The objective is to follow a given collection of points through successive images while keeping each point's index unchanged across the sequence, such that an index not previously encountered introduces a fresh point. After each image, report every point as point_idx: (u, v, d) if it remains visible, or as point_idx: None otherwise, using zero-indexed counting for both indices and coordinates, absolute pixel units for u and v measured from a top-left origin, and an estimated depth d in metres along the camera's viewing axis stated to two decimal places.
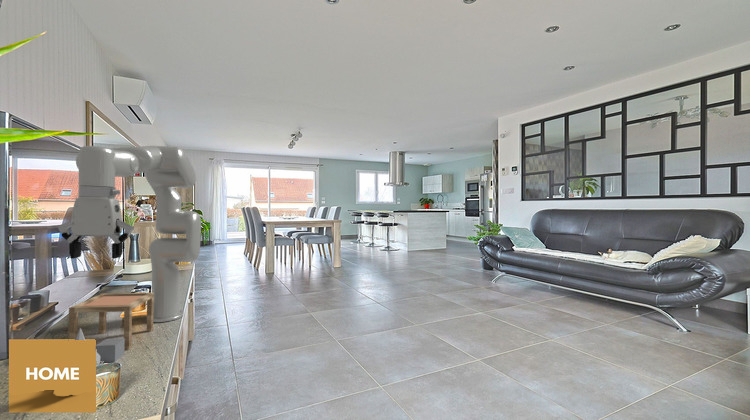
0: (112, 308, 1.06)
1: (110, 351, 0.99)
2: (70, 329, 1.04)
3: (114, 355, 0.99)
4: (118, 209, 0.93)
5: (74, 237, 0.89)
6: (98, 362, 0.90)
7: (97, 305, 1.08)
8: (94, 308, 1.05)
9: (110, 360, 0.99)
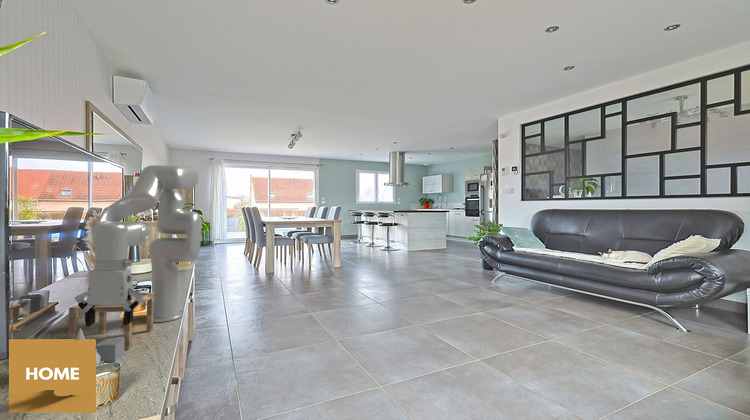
0: (112, 308, 1.06)
1: (110, 351, 0.99)
2: (70, 329, 1.04)
3: (114, 355, 0.99)
4: (130, 279, 1.02)
5: (89, 307, 0.98)
6: (98, 362, 0.90)
7: None
8: (94, 308, 1.05)
9: (110, 360, 0.99)
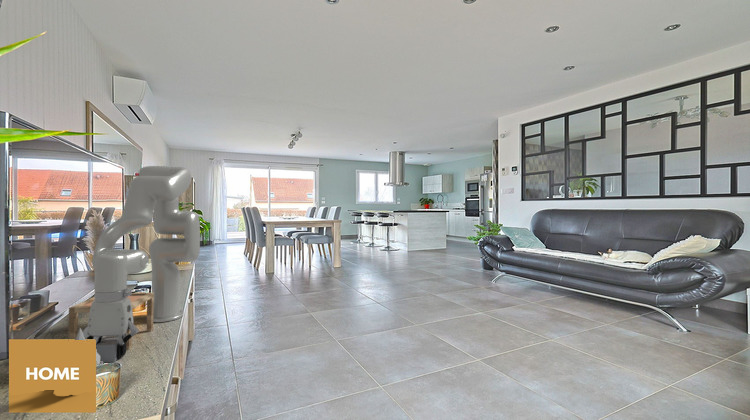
0: None
1: (110, 351, 0.99)
2: (70, 329, 1.04)
3: (114, 355, 0.99)
4: (130, 308, 1.02)
5: (96, 339, 0.99)
6: (98, 362, 0.90)
7: None
8: None
9: (110, 360, 0.99)
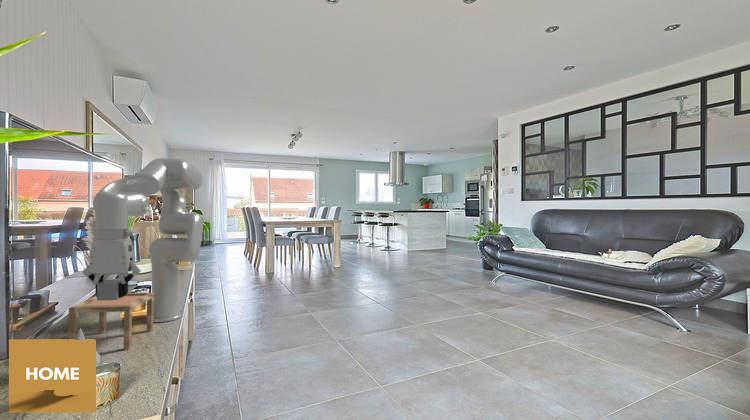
0: (112, 308, 1.06)
1: (112, 289, 0.99)
2: (70, 329, 1.04)
3: (116, 293, 0.99)
4: (131, 248, 1.02)
5: (98, 277, 0.99)
6: (98, 362, 0.90)
7: (97, 305, 1.08)
8: (94, 308, 1.05)
9: (112, 298, 0.99)
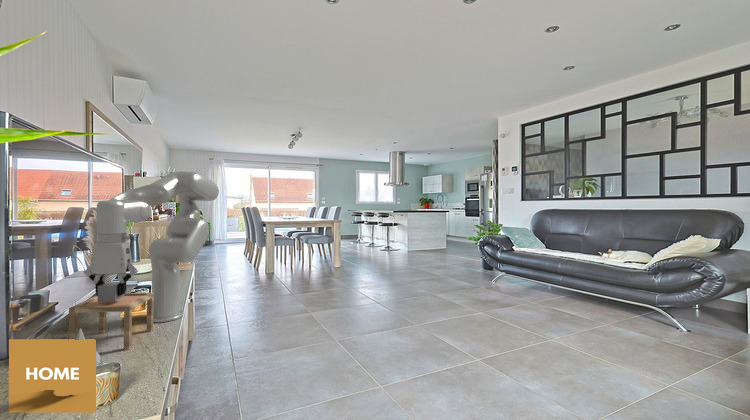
0: (112, 308, 1.06)
1: (111, 291, 1.09)
2: (70, 329, 1.04)
3: (114, 295, 1.09)
4: (129, 251, 1.12)
5: (98, 277, 1.09)
6: (98, 362, 0.90)
7: (97, 305, 1.08)
8: (94, 308, 1.05)
9: (111, 299, 1.09)
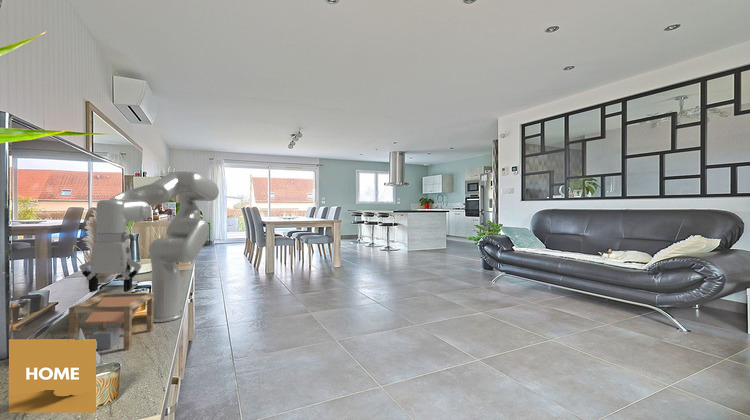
0: (112, 308, 1.06)
1: None
2: (70, 329, 1.04)
3: None
4: (128, 250, 1.12)
5: (92, 275, 1.09)
6: (98, 362, 0.90)
7: (99, 321, 1.09)
8: (94, 308, 1.05)
9: None
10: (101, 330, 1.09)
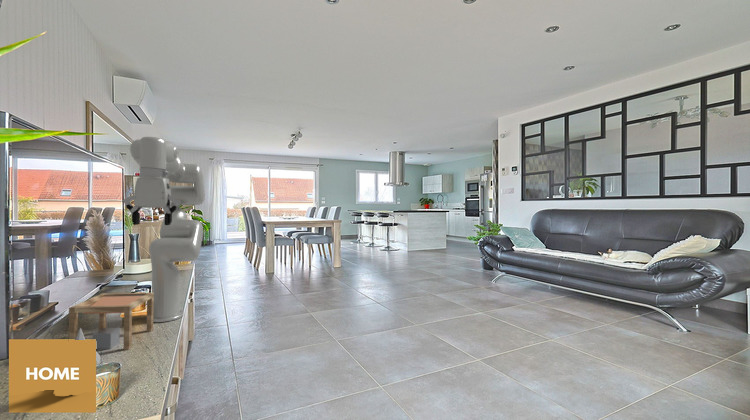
0: (112, 308, 1.06)
1: None
2: (70, 329, 1.04)
3: None
4: (168, 187, 1.18)
5: (136, 208, 1.14)
6: (98, 362, 0.90)
7: None
8: (94, 308, 1.05)
9: None
10: (101, 330, 1.09)
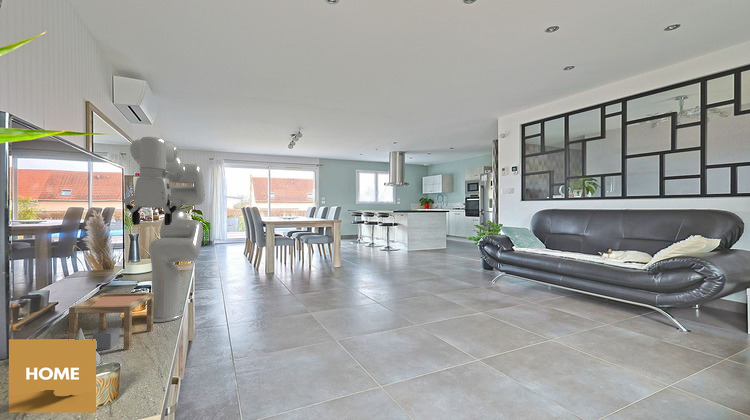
0: (112, 308, 1.06)
1: None
2: (70, 329, 1.04)
3: None
4: (168, 187, 1.18)
5: (136, 208, 1.14)
6: (98, 362, 0.90)
7: None
8: (94, 308, 1.05)
9: None
10: (101, 330, 1.09)
